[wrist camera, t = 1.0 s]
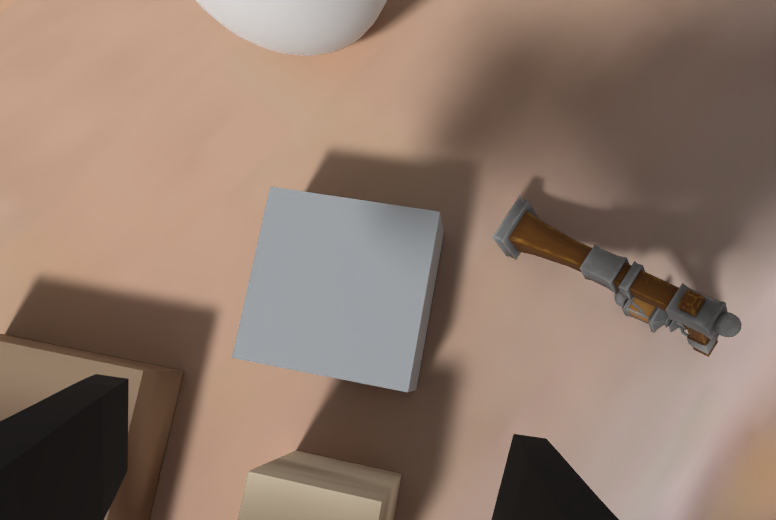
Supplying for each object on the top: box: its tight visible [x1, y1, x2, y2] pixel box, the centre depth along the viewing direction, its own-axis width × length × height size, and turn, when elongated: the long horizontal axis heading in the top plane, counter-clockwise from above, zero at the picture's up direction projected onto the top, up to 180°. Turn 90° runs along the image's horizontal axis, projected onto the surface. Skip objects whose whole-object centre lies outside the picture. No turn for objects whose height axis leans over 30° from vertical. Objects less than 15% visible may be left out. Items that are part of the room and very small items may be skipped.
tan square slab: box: [0, 334, 184, 520], centre depth 23 cm, size 8×8×3 cm
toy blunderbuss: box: [492, 196, 741, 357], centre depth 21 cm, size 2×8×4 cm, turn 56°
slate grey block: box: [232, 187, 444, 392], centre depth 22 cm, size 6×6×3 cm
